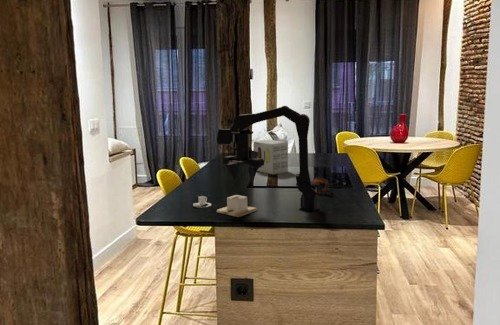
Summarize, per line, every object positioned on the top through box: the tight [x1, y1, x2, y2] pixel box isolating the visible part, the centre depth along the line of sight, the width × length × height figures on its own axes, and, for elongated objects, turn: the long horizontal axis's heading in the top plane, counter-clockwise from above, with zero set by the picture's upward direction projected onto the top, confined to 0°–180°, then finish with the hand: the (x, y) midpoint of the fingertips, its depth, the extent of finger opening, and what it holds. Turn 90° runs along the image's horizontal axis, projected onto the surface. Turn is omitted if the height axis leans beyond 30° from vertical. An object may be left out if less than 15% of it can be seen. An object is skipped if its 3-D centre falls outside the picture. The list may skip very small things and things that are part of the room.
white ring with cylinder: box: [192, 195, 212, 208], centre depth 205 cm, size 9×8×4 cm
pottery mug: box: [311, 177, 330, 195], centre depth 224 cm, size 12×10×8 cm
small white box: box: [226, 194, 248, 211], centre depth 194 cm, size 6×6×5 cm
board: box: [216, 205, 258, 218], centre depth 194 cm, size 12×12×4 cm
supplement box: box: [253, 139, 289, 175], centre depth 279 cm, size 17×13×18 cm
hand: (243, 181), depth 197 cm, fingers open, 9 cm apart
